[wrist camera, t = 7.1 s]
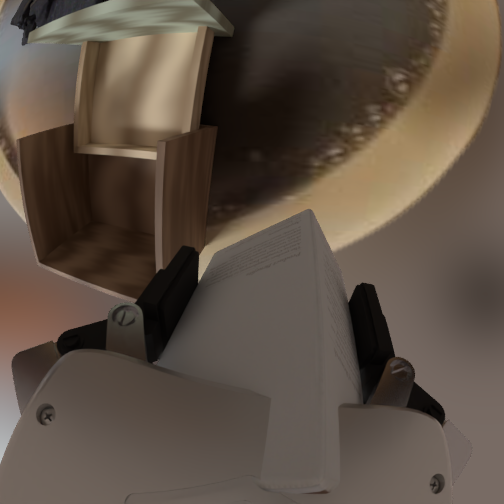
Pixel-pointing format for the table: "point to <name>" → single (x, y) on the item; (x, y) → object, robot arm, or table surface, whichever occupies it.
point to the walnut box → (114, 207)
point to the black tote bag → (45, 13)
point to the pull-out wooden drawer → (137, 70)
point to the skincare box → (278, 345)
